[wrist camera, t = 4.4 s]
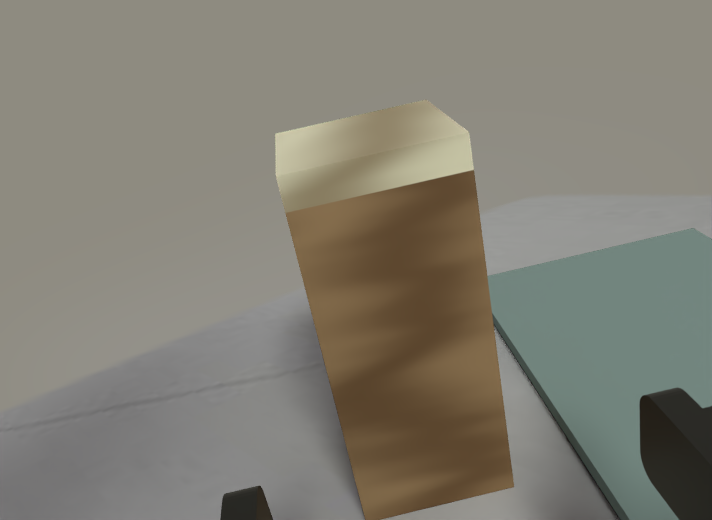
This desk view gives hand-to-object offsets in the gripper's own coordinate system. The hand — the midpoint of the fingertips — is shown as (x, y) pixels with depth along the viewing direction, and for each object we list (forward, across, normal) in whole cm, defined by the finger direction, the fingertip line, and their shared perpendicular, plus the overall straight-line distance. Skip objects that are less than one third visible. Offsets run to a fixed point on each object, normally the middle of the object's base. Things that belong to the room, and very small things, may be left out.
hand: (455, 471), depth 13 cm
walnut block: (+8, 0, +7) cm, 10 cm away
